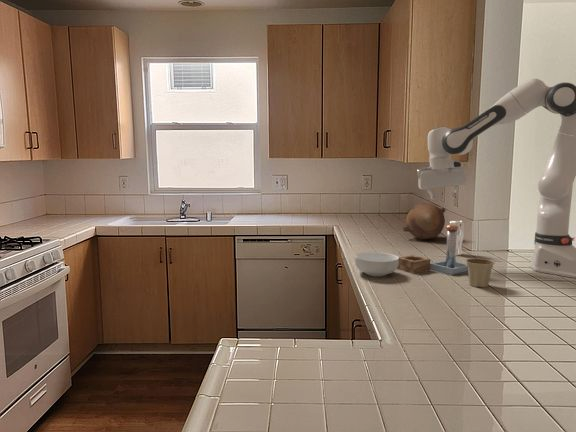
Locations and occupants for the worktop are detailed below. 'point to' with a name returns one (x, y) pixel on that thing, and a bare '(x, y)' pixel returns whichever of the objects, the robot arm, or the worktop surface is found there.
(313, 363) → the worktop surface
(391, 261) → the cereal bowl
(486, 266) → the flower pot
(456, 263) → the tray
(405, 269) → the socket block
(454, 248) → the pin
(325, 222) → the worktop surface
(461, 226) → the beer glass
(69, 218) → the worktop surface
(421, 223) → the jug
